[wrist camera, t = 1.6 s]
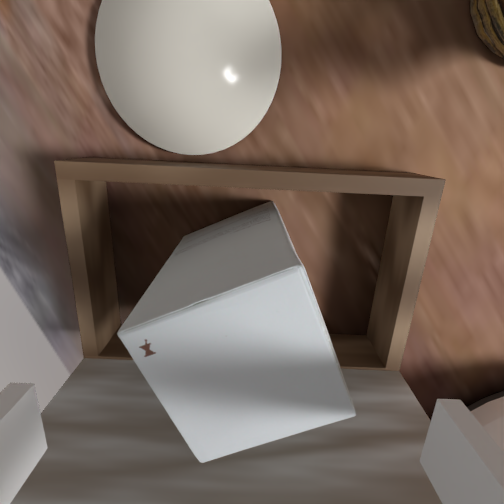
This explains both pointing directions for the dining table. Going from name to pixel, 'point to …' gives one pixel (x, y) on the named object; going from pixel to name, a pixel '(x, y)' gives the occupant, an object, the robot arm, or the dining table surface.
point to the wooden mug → (489, 23)
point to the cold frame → (154, 414)
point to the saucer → (189, 68)
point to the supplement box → (237, 339)
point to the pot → (491, 416)
